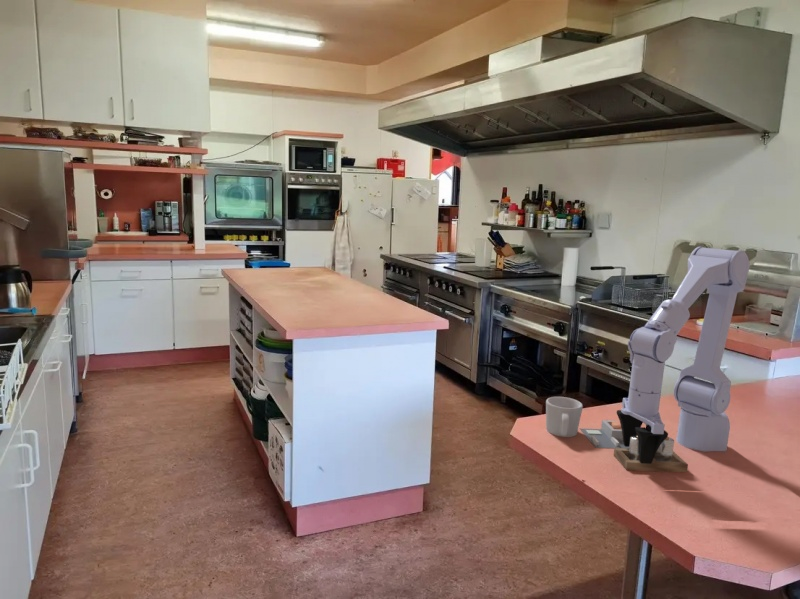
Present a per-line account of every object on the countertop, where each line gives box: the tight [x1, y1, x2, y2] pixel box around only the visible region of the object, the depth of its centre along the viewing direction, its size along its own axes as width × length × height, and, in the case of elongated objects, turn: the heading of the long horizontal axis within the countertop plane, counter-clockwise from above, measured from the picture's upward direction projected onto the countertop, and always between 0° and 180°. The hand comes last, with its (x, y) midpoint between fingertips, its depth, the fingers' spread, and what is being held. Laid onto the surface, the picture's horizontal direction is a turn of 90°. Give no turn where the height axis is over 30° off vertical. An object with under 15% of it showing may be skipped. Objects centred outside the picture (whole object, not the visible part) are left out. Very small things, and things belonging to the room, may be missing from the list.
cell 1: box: [628, 435, 639, 460], centre depth 115 cm, size 3×3×6 cm
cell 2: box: [655, 436, 675, 462], centre depth 115 cm, size 3×3×6 cm
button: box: [612, 420, 622, 430], centre depth 129 cm, size 4×4×2 cm
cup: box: [545, 396, 584, 438], centre depth 128 cm, size 11×8×8 cm
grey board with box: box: [578, 419, 629, 450], centre depth 127 cm, size 11×10×3 cm
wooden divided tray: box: [613, 448, 689, 473], centre depth 115 cm, size 12×6×3 cm, turn 91°
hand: (637, 454), depth 115 cm, fingers open, 7 cm apart
